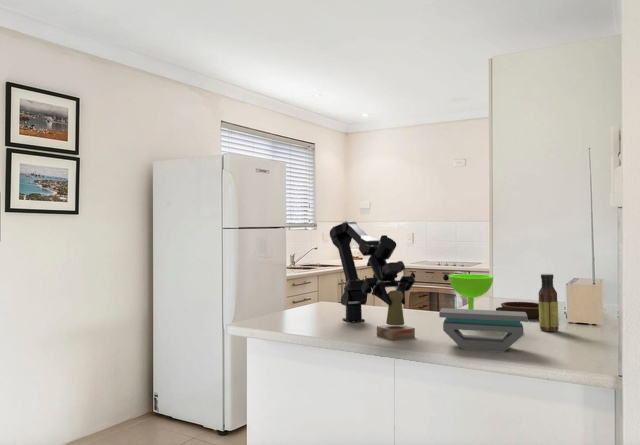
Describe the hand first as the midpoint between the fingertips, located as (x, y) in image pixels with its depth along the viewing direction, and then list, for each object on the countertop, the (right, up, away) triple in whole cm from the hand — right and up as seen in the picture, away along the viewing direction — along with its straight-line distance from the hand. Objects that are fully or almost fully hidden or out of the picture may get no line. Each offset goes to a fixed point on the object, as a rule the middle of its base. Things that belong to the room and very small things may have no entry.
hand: (397, 304), depth 174 cm
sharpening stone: (+24, -11, -15) cm, 30 cm away
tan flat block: (0, -11, +1) cm, 11 cm away
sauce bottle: (+55, -11, +10) cm, 56 cm away
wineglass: (+31, -11, +21) cm, 39 cm away
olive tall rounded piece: (-1, -7, +1) cm, 7 cm away
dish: (+57, -11, +38) cm, 69 cm away
